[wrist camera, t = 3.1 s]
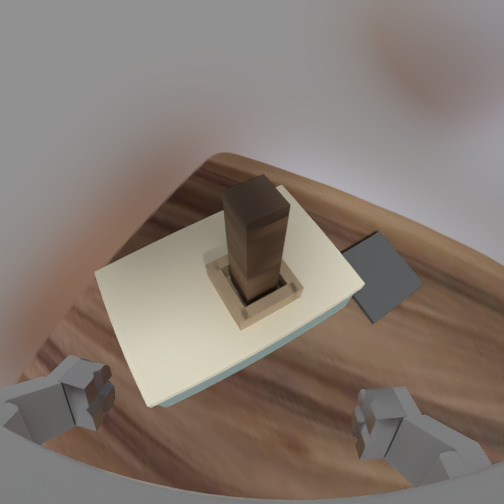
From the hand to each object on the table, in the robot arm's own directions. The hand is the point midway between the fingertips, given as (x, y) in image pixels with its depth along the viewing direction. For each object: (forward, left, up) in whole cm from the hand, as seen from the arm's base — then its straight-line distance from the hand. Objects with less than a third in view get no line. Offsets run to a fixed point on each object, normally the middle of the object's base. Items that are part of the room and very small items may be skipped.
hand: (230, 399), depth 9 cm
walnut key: (-7, -10, -16) cm, 20 cm away
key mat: (-22, -6, -22) cm, 32 cm away
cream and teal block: (-5, -12, -22) cm, 25 cm away
